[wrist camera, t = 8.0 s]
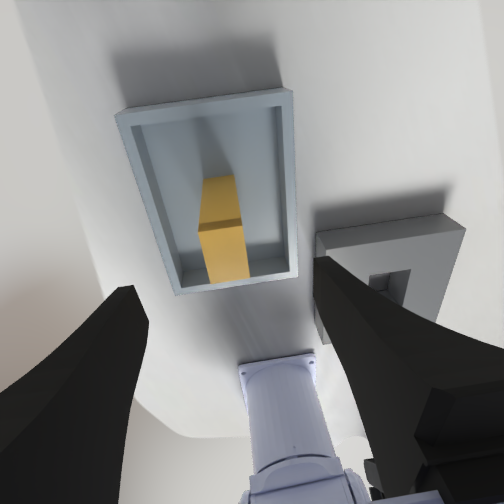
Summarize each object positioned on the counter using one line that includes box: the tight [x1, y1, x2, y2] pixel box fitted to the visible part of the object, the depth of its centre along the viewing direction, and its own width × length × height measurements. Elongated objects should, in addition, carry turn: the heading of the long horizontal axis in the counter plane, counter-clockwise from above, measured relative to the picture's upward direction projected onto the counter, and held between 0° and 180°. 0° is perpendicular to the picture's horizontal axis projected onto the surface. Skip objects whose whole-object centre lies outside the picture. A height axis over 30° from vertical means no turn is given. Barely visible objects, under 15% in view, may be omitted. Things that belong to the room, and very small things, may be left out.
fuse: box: [198, 175, 250, 284], centre depth 17 cm, size 3×2×7 cm, turn 7°
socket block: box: [315, 213, 466, 345], centre depth 24 cm, size 10×10×2 cm
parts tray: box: [114, 87, 298, 296], centre depth 19 cm, size 12×9×2 cm
